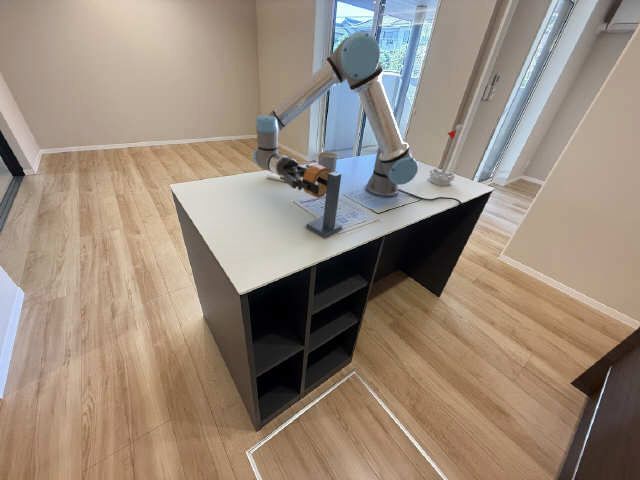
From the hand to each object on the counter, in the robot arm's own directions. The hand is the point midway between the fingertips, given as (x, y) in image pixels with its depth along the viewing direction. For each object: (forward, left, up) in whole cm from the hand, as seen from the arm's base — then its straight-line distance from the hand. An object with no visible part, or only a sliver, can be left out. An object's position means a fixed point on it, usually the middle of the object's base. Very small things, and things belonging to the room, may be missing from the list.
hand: (329, 186), depth 81 cm
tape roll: (+5, -3, 0) cm, 5 cm away
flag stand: (-51, -72, -17) cm, 90 cm away
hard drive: (+31, -40, -17) cm, 53 cm away
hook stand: (+2, -1, -16) cm, 16 cm away
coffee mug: (+11, -60, -17) cm, 63 cm away
